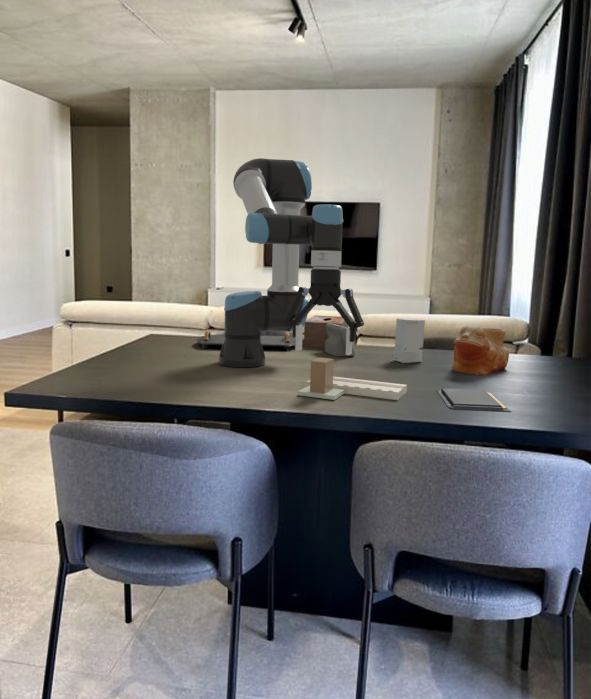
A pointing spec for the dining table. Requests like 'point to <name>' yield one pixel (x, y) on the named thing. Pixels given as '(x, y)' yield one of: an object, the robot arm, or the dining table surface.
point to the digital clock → (337, 340)
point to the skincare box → (409, 340)
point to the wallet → (471, 400)
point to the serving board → (265, 340)
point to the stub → (321, 380)
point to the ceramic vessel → (480, 351)
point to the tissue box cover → (319, 330)
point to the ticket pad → (369, 388)
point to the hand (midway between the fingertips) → (323, 352)
